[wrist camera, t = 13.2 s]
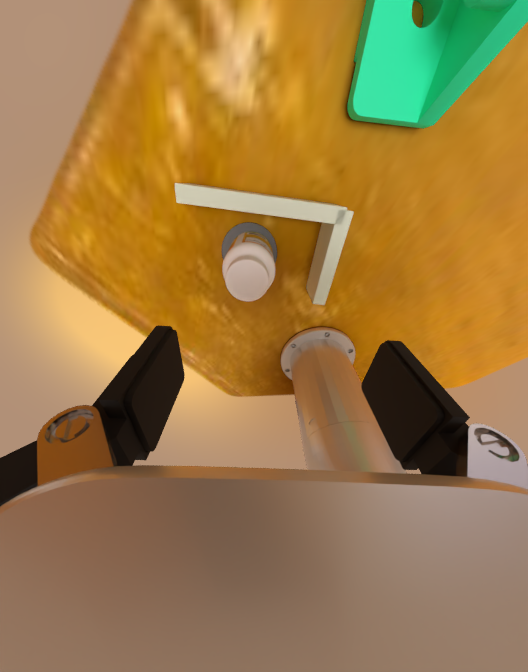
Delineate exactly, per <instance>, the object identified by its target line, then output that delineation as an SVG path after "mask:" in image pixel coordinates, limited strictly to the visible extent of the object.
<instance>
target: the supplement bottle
mask: <svg viewBox="0 0 528 672" xmlns="http://www.w3.org/2000/svg"><path fill="white" fill-rule="evenodd" d="M222 271H223V277H224V279H225V282H226V286H227V289H228V291H229V292H230V293H231V295H233V296H234V297H235V298H237V299H239V300H241V301H255V300H257V299H259V298H261V297H262V296H263V295H264V294H265V293H266V291H267V289H268V288H269V287H270V286H271V284H272V283H273V280H274V277H275V263H274V257H273V251H272V247H271V245H270V243H269V241H268V240H267V239H266V237H264V236H263V235H262V234H260V233H258V232H253V231H248V232H244V233H242V234H240V235H238V236H237V237H236V238H235V239H234V241H233V242H232V244H231V246H230V248H229V250H228V252H227V254H226V256H225V258H224V261H223V266H222Z"/></svg>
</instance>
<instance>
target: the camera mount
mask: <svg viewBox="0 0 528 672" xmlns="http://www.w3.org/2000/svg"><path fill="white" fill-rule="evenodd" d="M413 1H418V2H419V3H420V4H421V5H422V8H423V14H424V16H423V23H422V27H421V28H419V27H417V26H416V25H415V24H414V22H413V20H412V4H413ZM527 22H528V0H366V5H365V10H364V15H363V20H362V24H361V29H360V34H359V39H358V44H357V48H356V53H355V58H354V62H356V66H355V71H354V76H353V80H352V85H351V90H350V94H349V99H348V104H347V110H348V114H349V116H350V118H351V119H353V120H356V121H365V122H373V123H381V124H390V125H398V126H406V127H415V128H426V127H429V126H432V125H434V124H435V123H436V122H437V121H438V120H439V119H440V118H441V116H442V115H443V114H444V113H445V112H446V111H447V110H448V109H449V108H450V106H451V105H452V104H453V103H454V102H455V101H456V100H457V99H458V98H459V97H460V95H461V94H462V93H463V92H464V91H465V90H466V89H467V88H468V87H469V86H470V84H471V83H472V82H473V81H474V80H475V79H476V78H477V77H478V76H479V74H480V73H481V72H482V71H483V70H484V69H485V68H486V67H487V66H488V65H489V63H490V62H491V61H492V60H493V59H494V58H495V57H496V56H497V55H498V54H499V52H500V51H501V50H502V49H503V48H504V47H505V46H506V45H507V44H508V43H509V41H510V40H511V39H512V38H513V37H514V36H515V35H516V34H517V33H518V31H519V30H520V29H521V28H522V27H523V26H524V25H525V24H526V23H527Z"/></svg>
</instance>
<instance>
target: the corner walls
mask: <svg viewBox="0 0 528 672" xmlns="http://www.w3.org/2000/svg"><path fill="white" fill-rule="evenodd" d="M175 192H176V202H177V203H183V204H190V205H198V206H205V207H213V208H220V209H227V210H235V211H242V212H249V213H257V214H264V215H272V216H279V217H286V218H294V219H301V220H308V221H316V222H322V224H321V228H320V232H319V236H318V240H317V244H316V249H315V253H314V257H313V261H312V265H311V269H310V273H309V277H308V281H307V285H306V289H307V291H308V294H309V296H310V299H311V301H312V303H313V304H320V305H325V302H326V299H327V296H328V293H329V290H330V286H331V283H332V280H333V277H334V274H335V271H336V267H337V264H338V261H339V258H340V255H341V251H342V248H343V245H344V242H345V239H346V235H347V232H348V229H349V226H350V223H351V219H352V216H353V213H354V211H350V210H347V207H343V206H340V205H336V204H331V203H324V202H317V201H310V200H303V199H296V198H289V197H282V196H275V195H268V194H261V193H254V192H247V191H240V190H233V189H226V188H219V187H212V186H205V185H198V184H191V183H175Z"/></svg>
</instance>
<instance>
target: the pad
mask: <svg viewBox="0 0 528 672" xmlns="http://www.w3.org/2000/svg"><path fill="white" fill-rule="evenodd" d="M248 231H253V232H258V233H260V234H262V235H263V236H264V237H266V239H267V240H268V241H269V243H270V245H271V247H272V251H273V257H274V263H275V262H276V258H277V247H276V243H275V240H274V238H273V236H272V235H271V234H270V232H269V231H268V230H267V229H266V228H264V227H263V226H261V225H259V224H256V223H249V222H248V223H241V224H239V225H236V226H235V227H233V228H232V229H231V230H230V231H229V232H228V233H227V235H226V236H225V238H224V241H223V244H222V257H223V260H224V258H225V256H226V254H227V252H228V250H229V248H230V246H231V244H232V242H233V241H234V239H235V238H236V237H237V236H238V235H240V234H242V233H244V232H248Z"/></svg>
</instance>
